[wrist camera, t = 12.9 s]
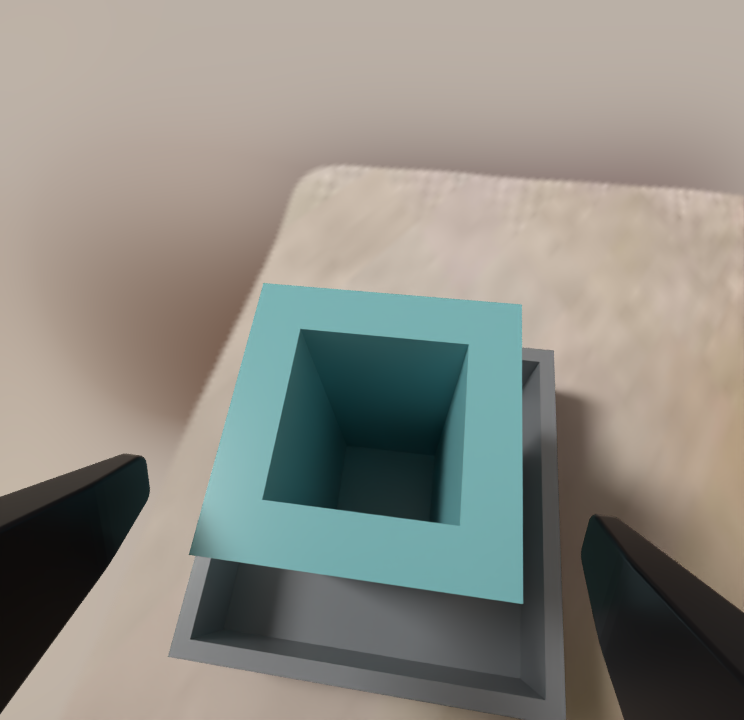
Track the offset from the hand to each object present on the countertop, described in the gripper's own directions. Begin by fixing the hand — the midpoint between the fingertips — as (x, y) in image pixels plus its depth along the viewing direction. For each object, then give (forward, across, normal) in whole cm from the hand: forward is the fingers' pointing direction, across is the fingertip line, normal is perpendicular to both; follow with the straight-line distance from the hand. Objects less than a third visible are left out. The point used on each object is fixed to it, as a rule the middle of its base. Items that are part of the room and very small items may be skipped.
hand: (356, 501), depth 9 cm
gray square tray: (+10, 0, +8) cm, 13 cm away
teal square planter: (+10, 0, +7) cm, 12 cm away
